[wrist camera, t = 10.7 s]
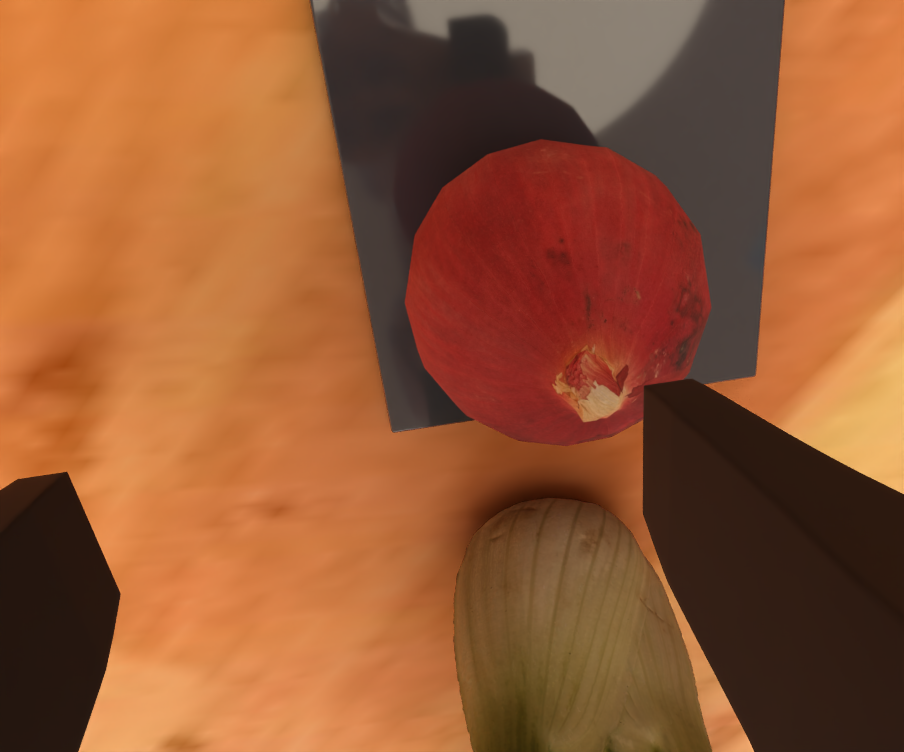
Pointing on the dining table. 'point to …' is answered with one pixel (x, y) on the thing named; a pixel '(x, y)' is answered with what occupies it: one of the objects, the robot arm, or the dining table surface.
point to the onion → (556, 291)
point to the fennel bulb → (569, 638)
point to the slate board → (553, 136)
